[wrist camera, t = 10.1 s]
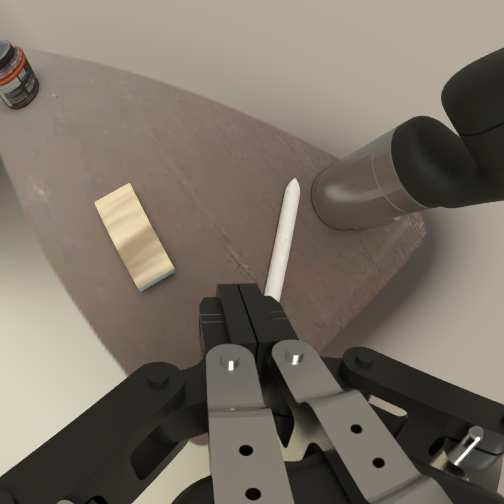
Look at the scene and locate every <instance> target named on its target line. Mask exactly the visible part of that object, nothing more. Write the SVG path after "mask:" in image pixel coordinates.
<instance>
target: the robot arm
mask: <svg viewBox="0 0 504 504" xmlns="http://www.w3.org/2000/svg"><path fill="white" fill-rule="evenodd" d="M441 101H442V105H443V107H444V110H445V112H446V114H447V115H448V117H449V119H450V121H451V123H452V124H453V126H454V128H455V129H456V131H457V133H458V134H459V136H460V137H461V138H460V137H459V136H458V135H456V134H455V133H454V132H453V131H452V130H450V129H449V128H448V127H447V126H445V125H444V124H443V123H441V122H440V121H438V120H436V119H434V118H431V117H428V116H417V117H414V118H412V119H410V120H408V121H406V122H404V123H403V124H401V125H399V126H397V127H396V128H394V129H392V130H391V131H389V132H387V133H386V134H384V135H382V136H381V137H379V138H377V139H376V140H374V141H372V142H370V143H369V144H367V145H365V146H364V147H362V148H360V149H359V150H357V151H355V152H354V153H352V154H350V155H349V156H347V157H345V158H344V159H342V160H341V161H339V162H337V163H336V164H334V165H332V166H331V167H329V168H327V169H325V170H324V171H323V172H321V173H320V174H319V175H318V176H317V177H316V179H315V181H314V183H313V186H312V192H311V197H312V203H313V206H314V209H315V211H316V213H317V215H318V216H319V217H320V219H321V220H322V221H323V222H324V223H325V224H327V225H328V226H330V227H332V228H334V229H338V230H346V229H354V230H355V231H359V230H363V229H368V228H372V227H376V226H381V225H385V224H390V223H394V222H397V221H399V220H400V218H401V216H404V215H408V214H412V213H416V212H420V211H424V210H428V209H432V208H436V207H440V206H442V207H445V208H459V207H464V206H470V205H476V204H482V203H489V202H496V201H503V200H504V48H502V49H499V50H497V51H495V52H493V53H490V54H489V55H486V56H484V57H482V58H480V59H478V60H476V61H474V62H472V63H471V64H469V65H467V66H466V67H464V68H463V69H461V70H460V71H459V72H457V73H456V74H455V75H454V76H452V77H451V78H450V80H449V81H448V82H447V83H446V85H445V86H444V88H443V91H442V94H441ZM199 338H200V346H201V354H202V360H201V362H199V363H198V364H197V365H195V366H193V367H191V368H188V369H185V370H181V371H180V369H178V368H177V367H176V366H174V365H172V364H169V363H165V362H152V363H148V364H145V365H143V366H141V367H140V368H139V369H137V370H136V371H135V372H134V373H132V374H131V375H130V376H129V377H127V378H126V379H125V380H124V381H122V382H121V383H120V384H119V385H118V386H116V387H115V388H114V389H113V390H111V391H110V392H109V393H108V394H106V395H105V396H104V397H103V398H101V399H100V400H99V401H98V402H96V403H95V404H94V405H92V406H91V407H90V408H89V409H88V410H86V411H85V412H84V413H82V414H81V415H80V416H79V417H77V418H76V419H75V420H74V421H72V422H71V423H70V424H68V425H67V426H66V427H65V428H63V429H62V430H61V431H60V432H58V433H57V434H56V435H54V436H53V437H52V438H50V439H49V440H48V441H47V442H45V443H44V444H43V445H41V446H40V447H39V448H38V449H36V450H35V451H34V452H32V453H31V454H30V455H28V457H26V458H25V459H23V460H22V461H21V462H19V463H18V464H17V465H16V466H14V467H13V468H11V469H10V470H9V471H8V472H6V473H5V474H3V475H2V476H1V477H0V504H131V503H133V502H134V501H135V500H136V499H137V498H138V496H139V495H140V494H141V493H142V492H143V491H144V490H145V489H146V488H147V487H148V486H149V485H150V484H151V483H152V482H153V481H154V480H155V478H156V477H157V476H158V475H159V474H160V473H161V472H162V471H163V470H164V469H165V468H166V467H167V465H168V464H169V463H170V462H171V461H172V460H173V459H174V457H176V455H177V454H178V453H179V452H180V451H181V450H182V449H183V447H184V446H185V445H186V444H187V442H188V440H189V438H192V437H195V436H198V435H201V434H204V433H207V432H208V450H209V466H210V476H207V477H205V478H203V479H200V480H199V481H197V482H195V483H193V484H192V485H190V486H189V487H187V488H186V489H185V490H184V491H182V492H181V493H180V494H179V495H178V496H177V497H176V498H175V500H174V501H173V502H172V504H504V497H503V496H502V495H501V494H499V493H497V488H498V483H499V479H500V474H501V468H502V462H503V456H504V405H503V404H500V403H498V402H495V401H492V400H490V399H488V398H485V397H483V396H480V395H478V394H474V393H472V392H470V391H468V390H465V389H463V388H460V387H458V386H455V385H453V384H451V383H448V382H446V381H443V380H441V379H438V378H436V377H434V376H431V375H429V374H427V373H424V372H422V371H419V370H417V369H415V368H413V367H410V366H408V365H406V364H403V363H401V362H399V361H397V360H394V359H392V358H390V357H387V356H385V355H383V354H381V353H378V352H376V351H374V350H372V349H369V348H366V347H352V348H350V349H348V350H346V351H345V353H344V355H343V358H342V359H341V358H330V357H322V356H319V355H318V354H317V352H316V351H315V349H314V348H313V347H312V346H310V345H309V344H307V343H305V342H302V341H299V339H298V337H297V335H296V333H295V331H294V329H293V327H292V325H291V324H290V322H289V320H288V319H287V316H286V314H285V312H284V310H283V308H282V306H281V305H280V303H279V302H278V301H277V300H276V299H274V298H273V297H272V296H262V294H261V291H260V289H259V287H258V285H257V284H256V283H251V284H217V287H216V297H205V298H203V300H202V302H201V303H200V305H199ZM371 395H373V396H375V397H378V398H380V399H382V400H384V401H386V402H389V403H390V404H393V405H395V406H397V407H399V408H402V409H403V410H405V411H406V412H407V414H406V415H405V416H396V415H393V414H391V413H389V412H387V411H385V410H383V409H381V408H379V407H376V406H374V405H372V404H370V403H368V401H369V399H370V397H371Z"/></svg>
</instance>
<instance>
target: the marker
mask: <svg viewBox="0 0 504 504" xmlns="http://www.w3.org/2000/svg"><path fill="white" fill-rule="evenodd" d="M285 197H286V198H285ZM299 198H300V187H299V184H298V182H297V180H296V178H294V179H293V180H292V181H291V182H290V183H289V184H288V186H287V187H286V190H285V193H284V198H283V203H282V208H281V213H280V218H279V224H278V229H277V234H276V239H275V243H274V248H273V253H272V258H271V263H270V268H269V273H268V278H267V282H266V287H265V292H264V296H272V297H273V298H274V299H276V300H277V301H278V302H279V301H280V296H281V291H282V286H283V282H284V276H285V271H286V266H287V261H288V256H289V251H290V246H291V241H292V236H293V230H294V225H295V220H296V214H297V209H298V203H299Z"/></svg>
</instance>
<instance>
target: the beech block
mask: <svg viewBox="0 0 504 504" xmlns="http://www.w3.org/2000/svg"><path fill="white" fill-rule="evenodd" d="M94 203H95V205H96V207H97V209H98V212H99V214H100V216H101V218H102V220H103V222H104V224H105V226H106V228H107V230H108V232H109V234H110V236H111V238H112V240H113V242H114V244H115V246H116V248H117V250H118V252H119V254H120V256H121V258H122V260H123V262H124V264H125V266H126V267H127V269H128V271H129V273H130V275H131V277H132V278H133V280H134V282H135V284H136V286H137V287H138V289H139V291H140V292H142V291H143V290H145V289H147V288H148V287H150V286H152V285H154V284H155V283H157V282H159V281H161V280H162V279H164V278H166V277H167V276H169V275H171V274H173V273H174V272H176V270H175V268H174V267H173V265H172V263H171V261H170V259H169V258H168V256H167V254H166V252H165V250H164V248H163V247H162V245H161V243H160V241H159V239H158V237H157V235H156V234H155V232H154V230H153V228H152V226H151V224H150V222H149V220H148V218H147V216H146V214H145V212H144V211H143V209H142V207H141V205H140V203H139V201H138V199H137V197H136V195H135V193H134V191H133V189H132V187H131V185H130V183H129V184H127V185H125V186H123V187H121V188H119V189H118V190H116V191H114V192H112V193H110V194H109V195H107V196H105V197H103V198H101V199H100V200H98V201H96V202H94Z"/></svg>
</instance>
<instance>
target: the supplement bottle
mask: <svg viewBox="0 0 504 504" xmlns="http://www.w3.org/2000/svg"><path fill="white" fill-rule="evenodd" d="M38 86H39V84H38V80H37V78H36V76H35V74H34V72H33V70H32V68H31V66H30V64H29V62H28V61H27V59H26V57H25V55H24V53H23V51H22V49H21V48H20V47H18V46H12V45H11V44H10V42H9V41H8V40H3V41H0V97H1V98H2V100H3V101H4V102H5V103H6V104H7V105H8V106H9V107H10V108H14V109H17V108H20V107H23V106H25V105H27V104H28V103H29V102H30V101H31V100H32V99H33V98H34V96H35V95H36V93H37V90H38Z"/></svg>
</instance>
